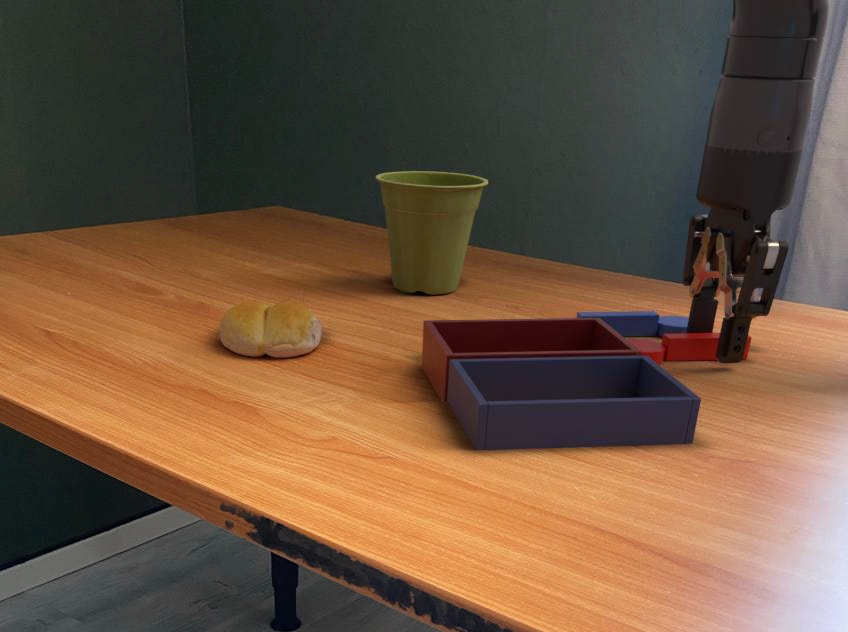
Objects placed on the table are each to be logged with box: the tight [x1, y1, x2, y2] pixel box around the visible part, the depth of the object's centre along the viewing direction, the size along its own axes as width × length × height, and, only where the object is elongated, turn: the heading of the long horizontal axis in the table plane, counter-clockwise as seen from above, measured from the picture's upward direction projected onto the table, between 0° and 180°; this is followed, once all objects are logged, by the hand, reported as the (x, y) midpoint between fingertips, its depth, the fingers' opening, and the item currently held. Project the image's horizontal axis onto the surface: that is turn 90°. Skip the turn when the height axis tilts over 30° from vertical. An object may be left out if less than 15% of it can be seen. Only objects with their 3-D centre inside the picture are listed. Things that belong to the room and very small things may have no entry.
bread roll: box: [218, 299, 323, 359], centre depth 88 cm, size 8×9×4 cm
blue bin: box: [446, 356, 702, 452], centre depth 71 cm, size 15×10×4 cm
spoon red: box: [627, 332, 752, 365], centre depth 88 cm, size 12×4×2 cm, turn 97°
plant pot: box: [375, 170, 489, 296], centre depth 107 cm, size 12×12×11 cm
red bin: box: [421, 317, 642, 403], centre depth 80 cm, size 15×10×4 cm
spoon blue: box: [576, 310, 689, 338], centre depth 95 cm, size 12×4×2 cm, turn 97°
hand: (712, 350), depth 89 cm, fingers open, 6 cm apart
